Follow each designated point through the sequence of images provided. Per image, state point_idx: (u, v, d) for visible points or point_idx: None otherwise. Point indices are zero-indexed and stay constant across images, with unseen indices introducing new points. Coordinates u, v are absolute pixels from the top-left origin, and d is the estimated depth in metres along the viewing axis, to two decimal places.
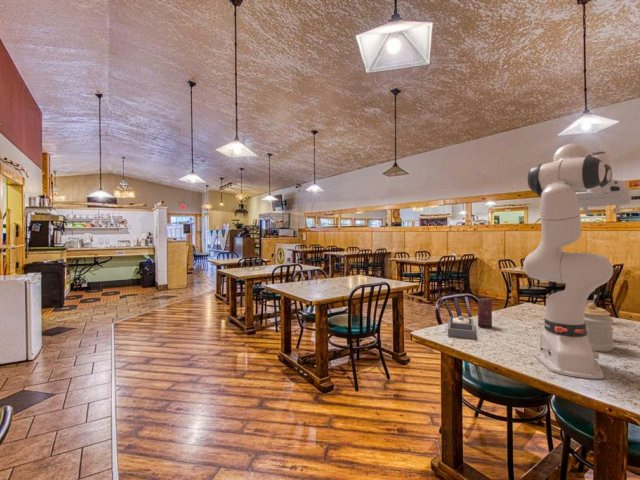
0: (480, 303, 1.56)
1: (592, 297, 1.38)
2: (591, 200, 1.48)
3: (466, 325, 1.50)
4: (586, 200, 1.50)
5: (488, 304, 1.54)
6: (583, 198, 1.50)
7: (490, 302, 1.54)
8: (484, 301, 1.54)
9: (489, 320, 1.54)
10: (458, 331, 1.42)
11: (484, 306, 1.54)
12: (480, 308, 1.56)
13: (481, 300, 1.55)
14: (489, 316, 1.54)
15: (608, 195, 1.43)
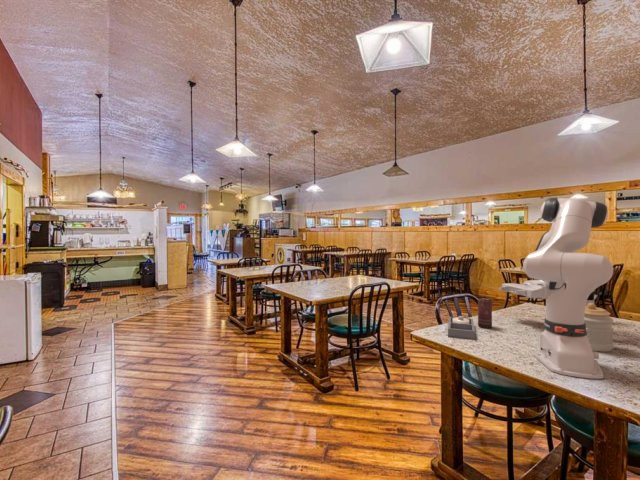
0: (480, 303, 1.56)
1: (592, 297, 1.38)
2: (516, 285, 1.63)
3: (466, 325, 1.50)
4: (514, 284, 1.65)
5: (488, 304, 1.54)
6: (514, 284, 1.66)
7: (490, 302, 1.54)
8: (484, 301, 1.54)
9: (489, 320, 1.54)
10: (458, 331, 1.42)
11: (484, 306, 1.54)
12: (480, 308, 1.56)
13: (481, 300, 1.55)
14: (489, 316, 1.54)
15: (529, 287, 1.57)
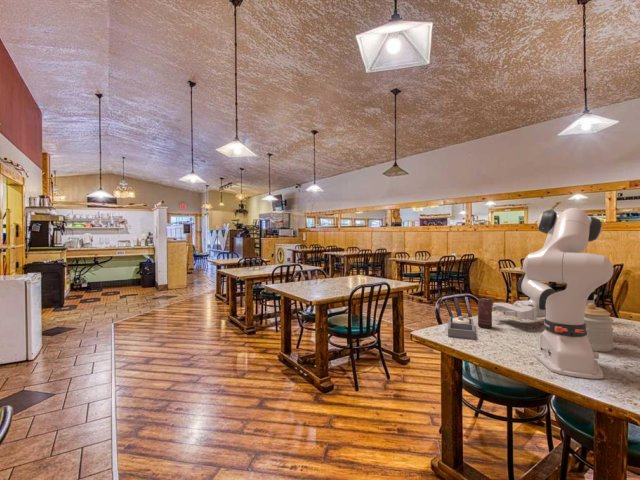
0: (480, 303, 1.56)
1: (592, 297, 1.38)
2: (507, 305, 1.62)
3: (466, 325, 1.50)
4: (504, 304, 1.64)
5: (488, 304, 1.54)
6: (505, 304, 1.65)
7: (490, 302, 1.54)
8: (484, 301, 1.54)
9: (489, 320, 1.54)
10: (458, 331, 1.42)
11: (484, 306, 1.54)
12: (480, 308, 1.56)
13: (481, 300, 1.55)
14: (489, 316, 1.54)
15: (520, 308, 1.57)
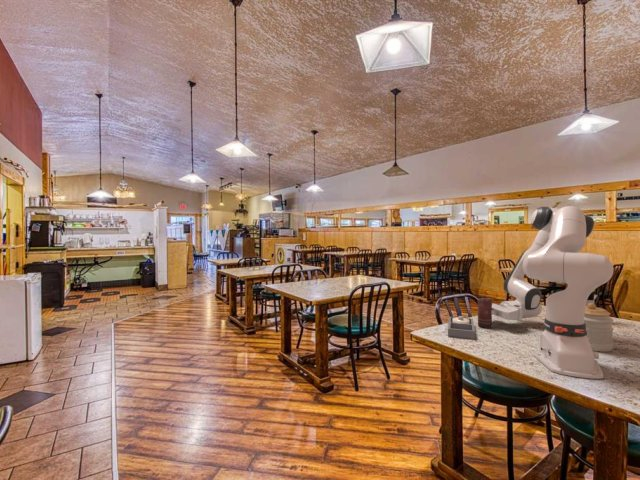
0: (480, 303, 1.56)
1: (592, 297, 1.38)
2: (493, 305, 1.61)
3: (466, 325, 1.50)
4: None
5: (488, 304, 1.54)
6: (492, 304, 1.64)
7: (490, 302, 1.55)
8: (484, 301, 1.55)
9: (489, 320, 1.54)
10: (458, 331, 1.42)
11: (484, 306, 1.55)
12: (480, 308, 1.56)
13: (481, 300, 1.56)
14: (489, 316, 1.54)
15: (506, 308, 1.55)
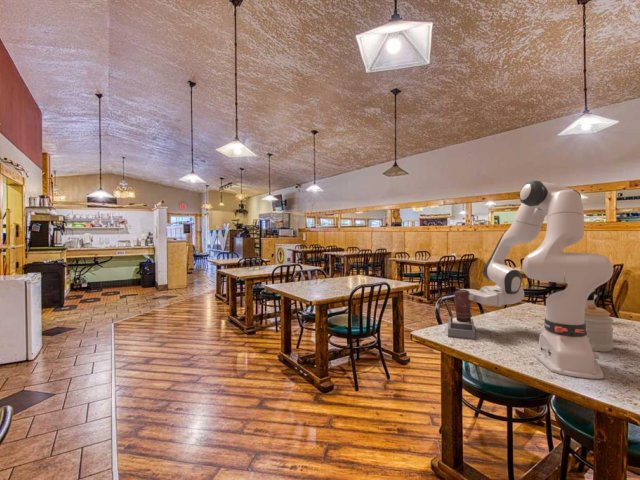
0: (457, 296, 1.46)
1: (592, 297, 1.38)
2: (473, 291, 1.51)
3: (466, 325, 1.50)
4: (470, 290, 1.53)
5: (465, 296, 1.45)
6: (471, 290, 1.54)
7: (467, 294, 1.45)
8: (461, 294, 1.45)
9: (468, 313, 1.45)
10: (458, 331, 1.42)
11: (462, 299, 1.45)
12: (458, 301, 1.46)
13: (458, 293, 1.46)
14: (467, 309, 1.45)
15: (485, 293, 1.45)
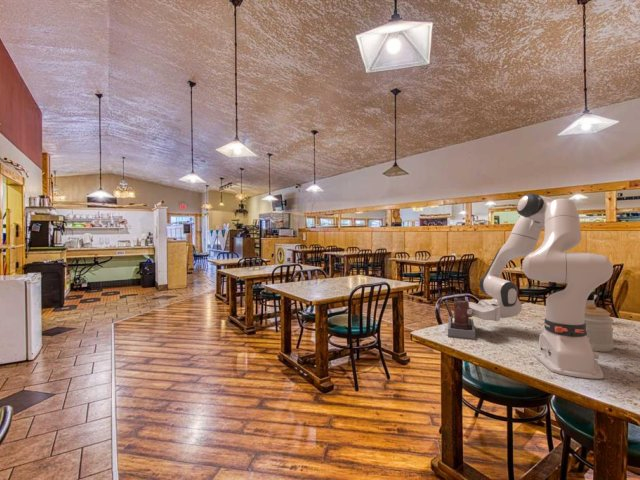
0: (456, 306, 1.46)
1: (592, 297, 1.38)
2: (471, 304, 1.51)
3: None
4: None
5: (465, 307, 1.45)
6: (469, 303, 1.54)
7: (467, 305, 1.45)
8: (461, 304, 1.45)
9: (466, 324, 1.45)
10: (458, 331, 1.42)
11: (461, 309, 1.45)
12: (456, 311, 1.46)
13: (457, 303, 1.46)
14: (466, 320, 1.45)
15: (483, 307, 1.45)
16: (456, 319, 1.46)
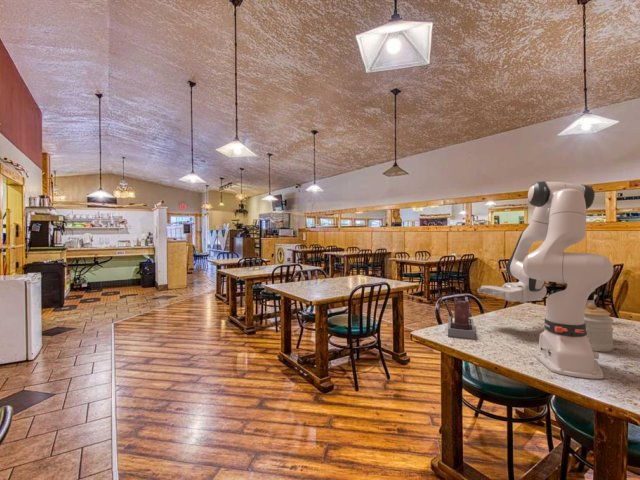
0: (457, 306, 1.46)
1: (592, 297, 1.38)
2: (496, 287, 1.53)
3: None
4: None
5: (465, 307, 1.45)
6: (493, 287, 1.56)
7: (467, 305, 1.45)
8: (461, 304, 1.45)
9: (466, 324, 1.45)
10: (458, 331, 1.42)
11: (461, 309, 1.45)
12: (457, 311, 1.46)
13: (458, 303, 1.46)
14: (466, 320, 1.45)
15: (509, 289, 1.47)
16: (456, 319, 1.46)
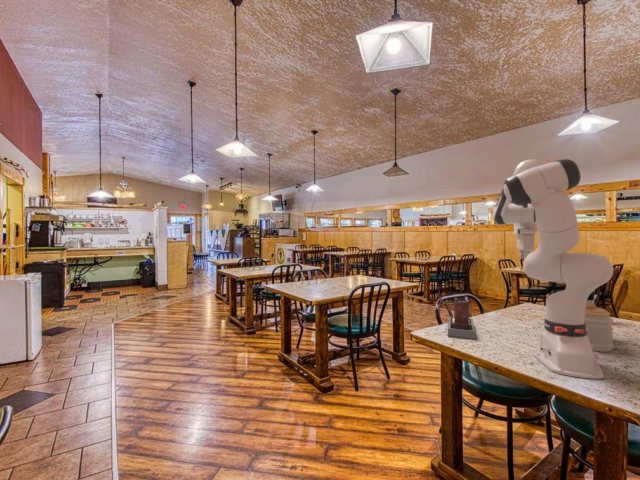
0: (457, 306, 1.46)
1: (592, 297, 1.38)
2: (519, 242, 1.56)
3: None
4: (518, 242, 1.57)
5: (465, 307, 1.45)
6: (518, 240, 1.58)
7: (467, 305, 1.45)
8: (461, 304, 1.45)
9: (466, 324, 1.45)
10: (458, 331, 1.42)
11: (461, 309, 1.45)
12: (457, 311, 1.46)
13: (458, 303, 1.46)
14: (466, 320, 1.45)
15: (521, 239, 1.50)
16: (456, 319, 1.46)
